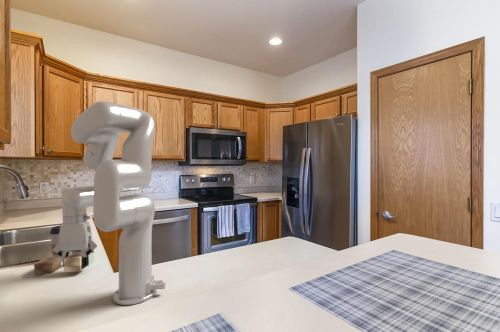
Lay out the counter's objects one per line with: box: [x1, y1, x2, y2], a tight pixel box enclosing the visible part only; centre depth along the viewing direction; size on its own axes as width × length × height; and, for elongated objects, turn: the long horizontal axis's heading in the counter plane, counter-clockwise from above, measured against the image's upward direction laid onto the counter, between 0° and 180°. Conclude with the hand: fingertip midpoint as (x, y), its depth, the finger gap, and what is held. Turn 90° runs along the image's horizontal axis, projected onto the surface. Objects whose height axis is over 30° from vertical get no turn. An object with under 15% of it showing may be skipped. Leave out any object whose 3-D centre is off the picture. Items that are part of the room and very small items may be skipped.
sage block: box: [87, 252, 95, 267], centre depth 106 cm, size 4×4×5 cm
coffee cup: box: [49, 224, 73, 263], centre depth 112 cm, size 8×8×15 cm
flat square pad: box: [21, 264, 64, 279], centre depth 100 cm, size 11×11×1 cm
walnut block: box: [33, 257, 62, 275], centre depth 100 cm, size 6×6×4 cm
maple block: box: [63, 252, 85, 273], centre depth 97 cm, size 6×6×5 cm
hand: (76, 267), depth 97 cm, fingers closed on maple block, 5 cm apart
